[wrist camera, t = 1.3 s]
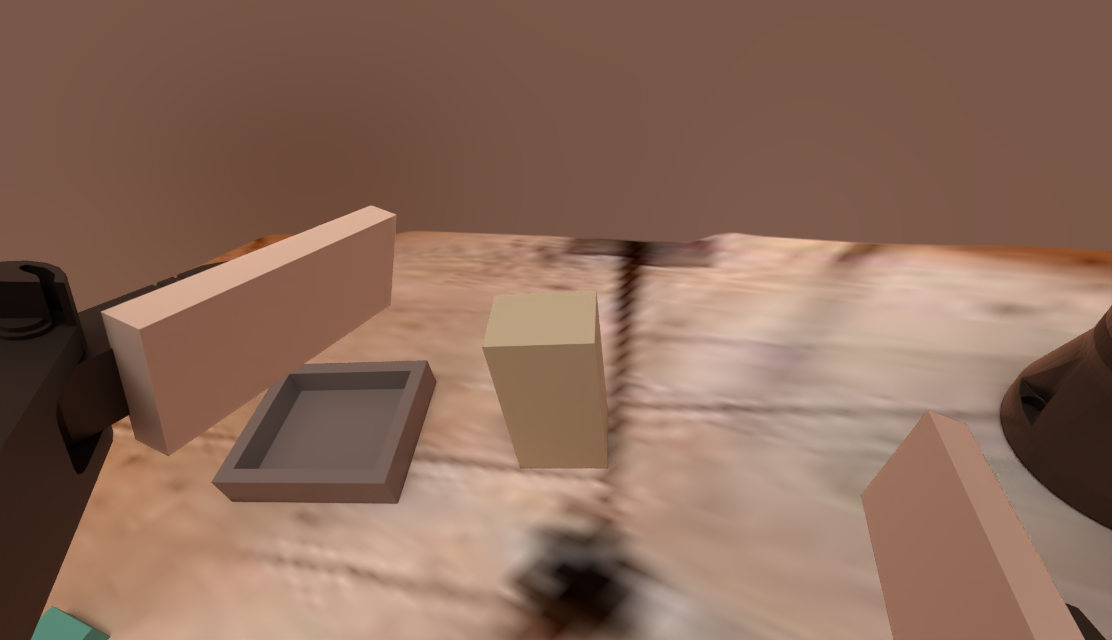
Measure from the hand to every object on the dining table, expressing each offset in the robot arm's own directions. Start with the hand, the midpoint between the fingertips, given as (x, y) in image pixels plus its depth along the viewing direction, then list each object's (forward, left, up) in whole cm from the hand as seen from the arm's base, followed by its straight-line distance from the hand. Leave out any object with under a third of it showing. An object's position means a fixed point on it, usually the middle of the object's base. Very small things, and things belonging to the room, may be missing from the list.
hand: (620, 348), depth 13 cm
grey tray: (+16, -26, -27) cm, 41 cm away
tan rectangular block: (-2, -17, -27) cm, 32 cm away
